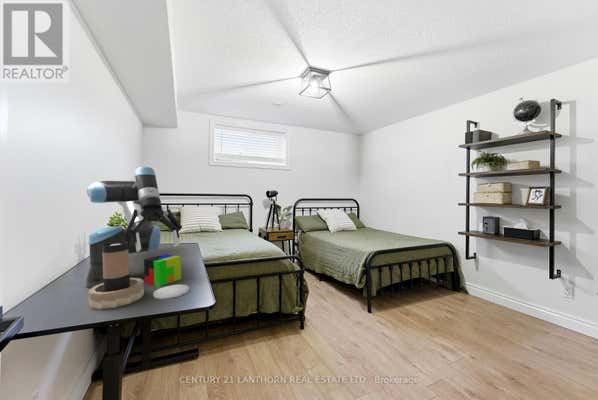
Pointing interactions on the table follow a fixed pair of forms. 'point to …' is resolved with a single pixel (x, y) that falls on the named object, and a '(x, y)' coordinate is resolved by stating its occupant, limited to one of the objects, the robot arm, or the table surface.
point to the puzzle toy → (162, 269)
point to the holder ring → (115, 295)
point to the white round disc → (171, 291)
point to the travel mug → (116, 266)
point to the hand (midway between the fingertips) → (158, 248)
